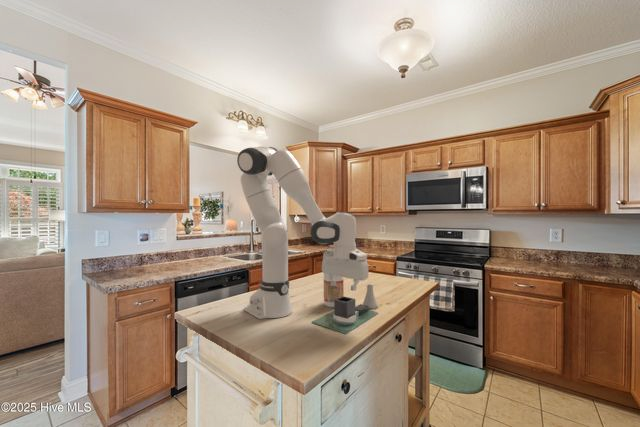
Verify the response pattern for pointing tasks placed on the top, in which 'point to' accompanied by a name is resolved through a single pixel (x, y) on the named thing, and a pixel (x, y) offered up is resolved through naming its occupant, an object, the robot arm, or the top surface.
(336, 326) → the green placemat
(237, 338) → the top surface
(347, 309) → the dark square pot
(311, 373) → the top surface
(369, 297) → the flask
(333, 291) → the fruit juice
